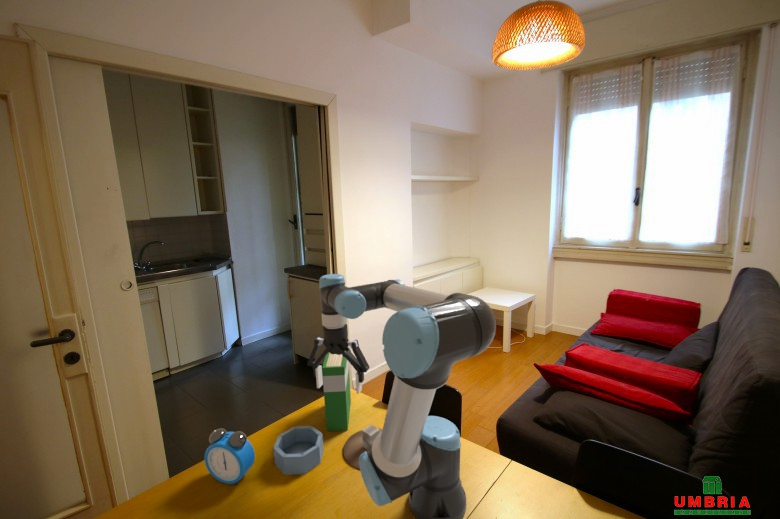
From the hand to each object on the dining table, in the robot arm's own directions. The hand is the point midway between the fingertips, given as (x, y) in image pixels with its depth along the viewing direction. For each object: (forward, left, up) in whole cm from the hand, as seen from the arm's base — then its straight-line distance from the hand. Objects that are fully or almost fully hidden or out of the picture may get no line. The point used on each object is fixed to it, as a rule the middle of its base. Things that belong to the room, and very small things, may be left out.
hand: (339, 388), depth 115 cm
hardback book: (+15, -10, -21) cm, 28 cm away
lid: (-7, -6, -22) cm, 23 cm away
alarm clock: (+15, +30, -21) cm, 40 cm away
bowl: (+7, +12, -21) cm, 25 cm away
